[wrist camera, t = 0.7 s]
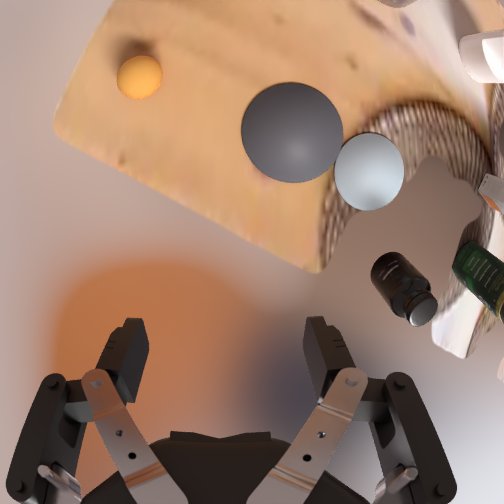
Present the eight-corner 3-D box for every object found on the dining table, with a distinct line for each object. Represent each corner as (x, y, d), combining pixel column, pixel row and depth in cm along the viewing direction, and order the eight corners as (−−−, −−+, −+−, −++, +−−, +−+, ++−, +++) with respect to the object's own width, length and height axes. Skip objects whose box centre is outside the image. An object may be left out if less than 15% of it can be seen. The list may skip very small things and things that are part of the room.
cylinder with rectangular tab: (451, 50, 28) (503, 43, 17) (468, 27, 25) (515, 19, 14) (480, 92, 30) (531, 96, 19) (495, 67, 28) (541, 67, 17)
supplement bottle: (375, 248, 41) (415, 289, 30) (409, 252, 42) (451, 290, 31) (363, 287, 44) (396, 334, 33) (396, 288, 45) (432, 331, 34)
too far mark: (354, 118, 33) (355, 118, 33) (413, 157, 35) (414, 157, 35) (321, 191, 37) (321, 191, 37) (382, 221, 39) (383, 222, 39)
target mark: (266, 67, 30) (266, 67, 30) (357, 112, 33) (357, 112, 32) (225, 159, 34) (225, 159, 34) (317, 197, 37) (318, 198, 37)
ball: (135, 56, 28) (121, 47, 23) (173, 66, 29) (164, 56, 24) (120, 95, 30) (102, 91, 25) (157, 105, 31) (144, 101, 26)
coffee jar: (445, 266, 44) (508, 324, 27) (469, 233, 41) (538, 281, 24) (463, 288, 46) (517, 342, 30) (485, 258, 44) (543, 306, 27)
